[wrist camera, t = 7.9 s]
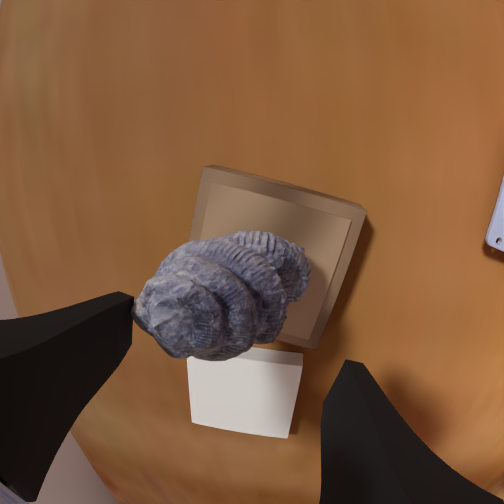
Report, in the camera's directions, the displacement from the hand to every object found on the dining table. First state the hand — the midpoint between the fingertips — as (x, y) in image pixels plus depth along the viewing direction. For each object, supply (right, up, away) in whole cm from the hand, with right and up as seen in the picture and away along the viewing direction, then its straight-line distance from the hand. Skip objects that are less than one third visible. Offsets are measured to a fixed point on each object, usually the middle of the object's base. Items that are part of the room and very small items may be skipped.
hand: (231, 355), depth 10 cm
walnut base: (+2, +3, +10) cm, 10 cm away
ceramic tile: (0, -7, +13) cm, 15 cm away
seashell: (+2, +2, +8) cm, 8 cm away
